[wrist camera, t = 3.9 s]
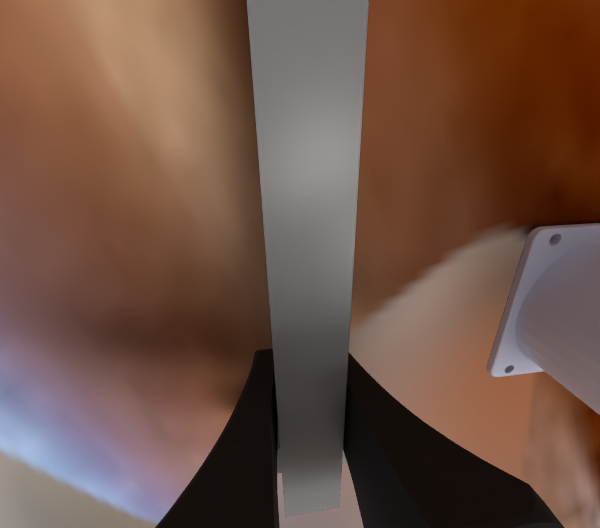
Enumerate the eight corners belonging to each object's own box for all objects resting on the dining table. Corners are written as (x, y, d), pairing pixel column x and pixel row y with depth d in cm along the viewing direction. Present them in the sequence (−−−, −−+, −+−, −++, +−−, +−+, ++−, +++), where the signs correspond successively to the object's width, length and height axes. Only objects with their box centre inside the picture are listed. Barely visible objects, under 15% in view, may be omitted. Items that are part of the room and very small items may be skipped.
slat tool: (379, -206, 7) (563, -742, 3) (345, 400, 15) (378, 500, 11) (161, -233, 6) (-29, -964, 2) (247, 413, 14) (242, 524, 10)
